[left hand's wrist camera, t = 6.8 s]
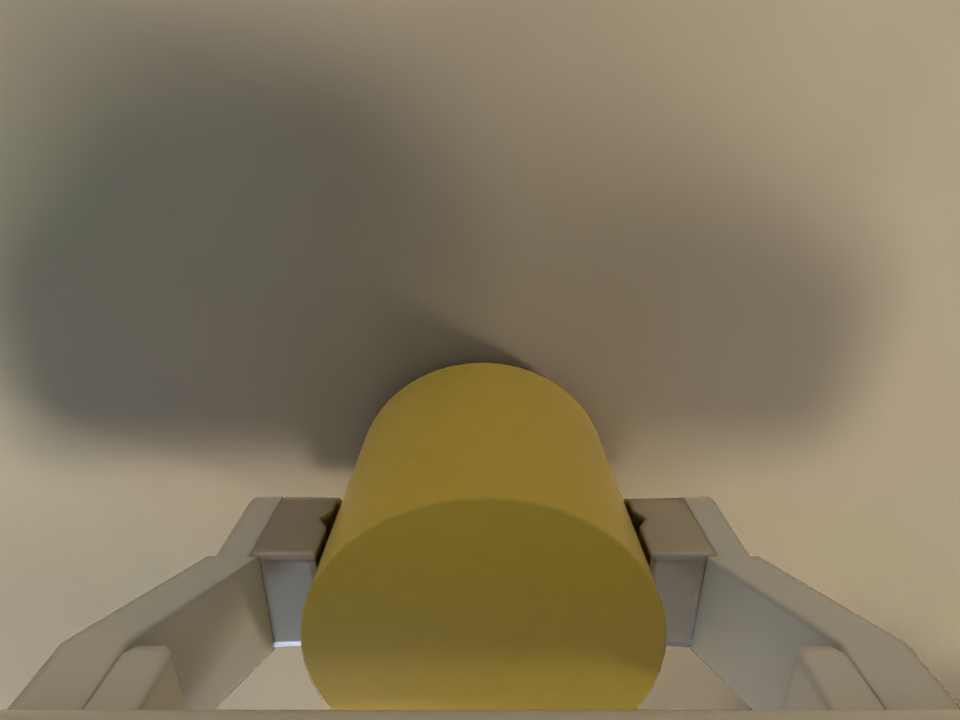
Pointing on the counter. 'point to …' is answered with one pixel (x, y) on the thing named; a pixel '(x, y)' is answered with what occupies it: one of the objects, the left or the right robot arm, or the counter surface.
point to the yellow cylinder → (483, 559)
